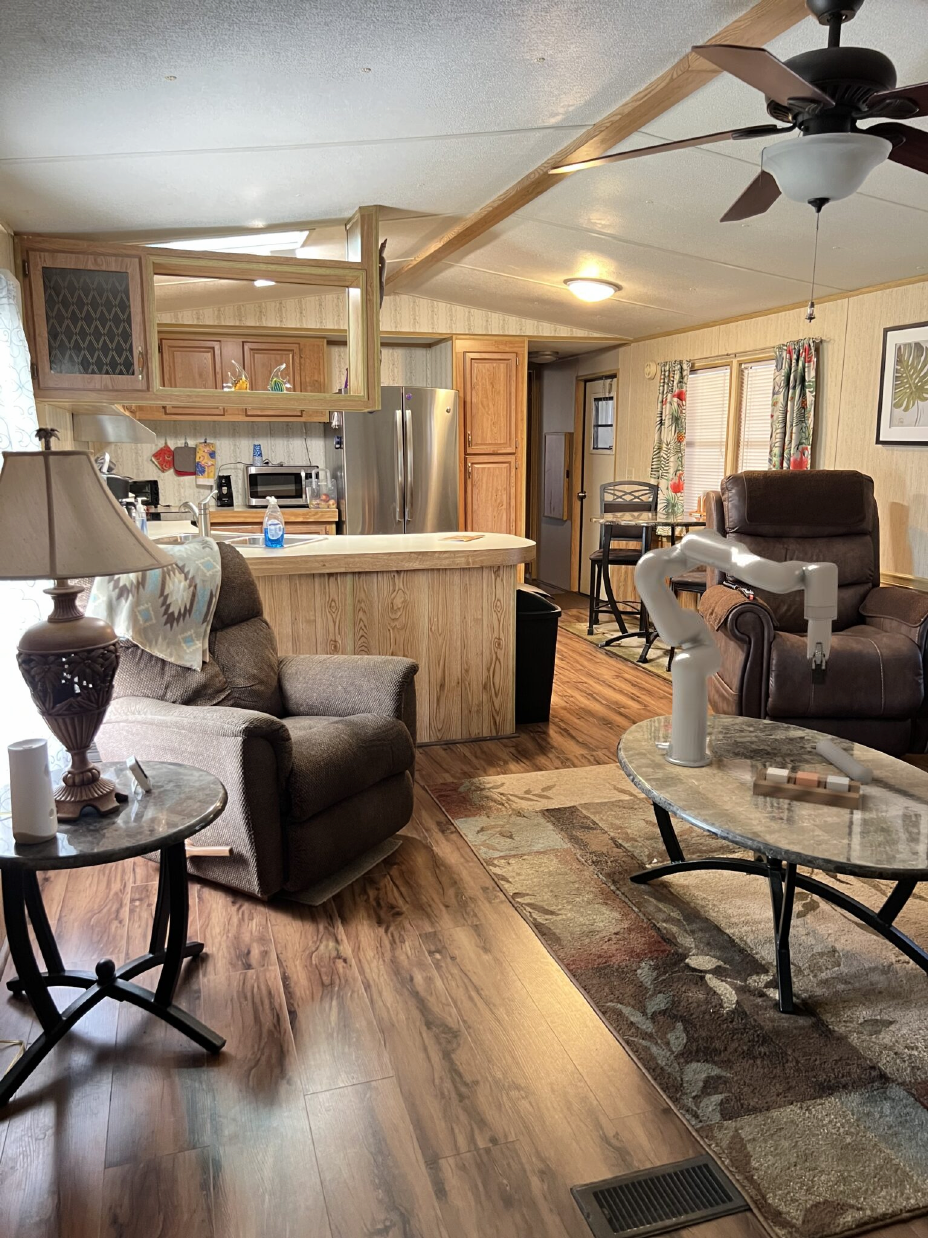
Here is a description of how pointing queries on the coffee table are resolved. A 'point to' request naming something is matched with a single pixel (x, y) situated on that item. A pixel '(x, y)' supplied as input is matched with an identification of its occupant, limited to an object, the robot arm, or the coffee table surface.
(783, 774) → the key left
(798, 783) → the key mid
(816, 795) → the wooden tray
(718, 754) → the coffee table surface
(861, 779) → the tube
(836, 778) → the key right
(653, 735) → the coffee table surface
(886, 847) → the coffee table surface
